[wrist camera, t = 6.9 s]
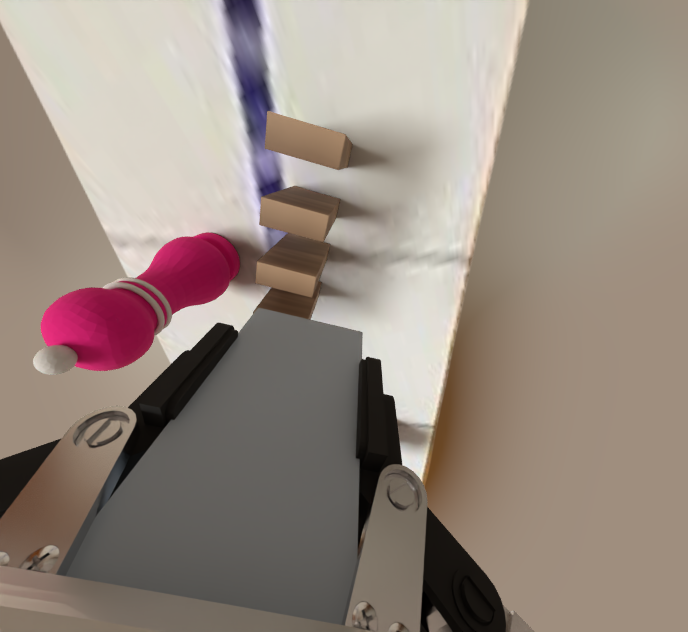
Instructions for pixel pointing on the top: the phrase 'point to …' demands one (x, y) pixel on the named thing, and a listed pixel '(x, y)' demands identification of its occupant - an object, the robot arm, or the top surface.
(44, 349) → the pepper mill
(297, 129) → the domino
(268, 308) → the domino
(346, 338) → the domino
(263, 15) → the top surface
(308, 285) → the domino
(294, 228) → the domino
